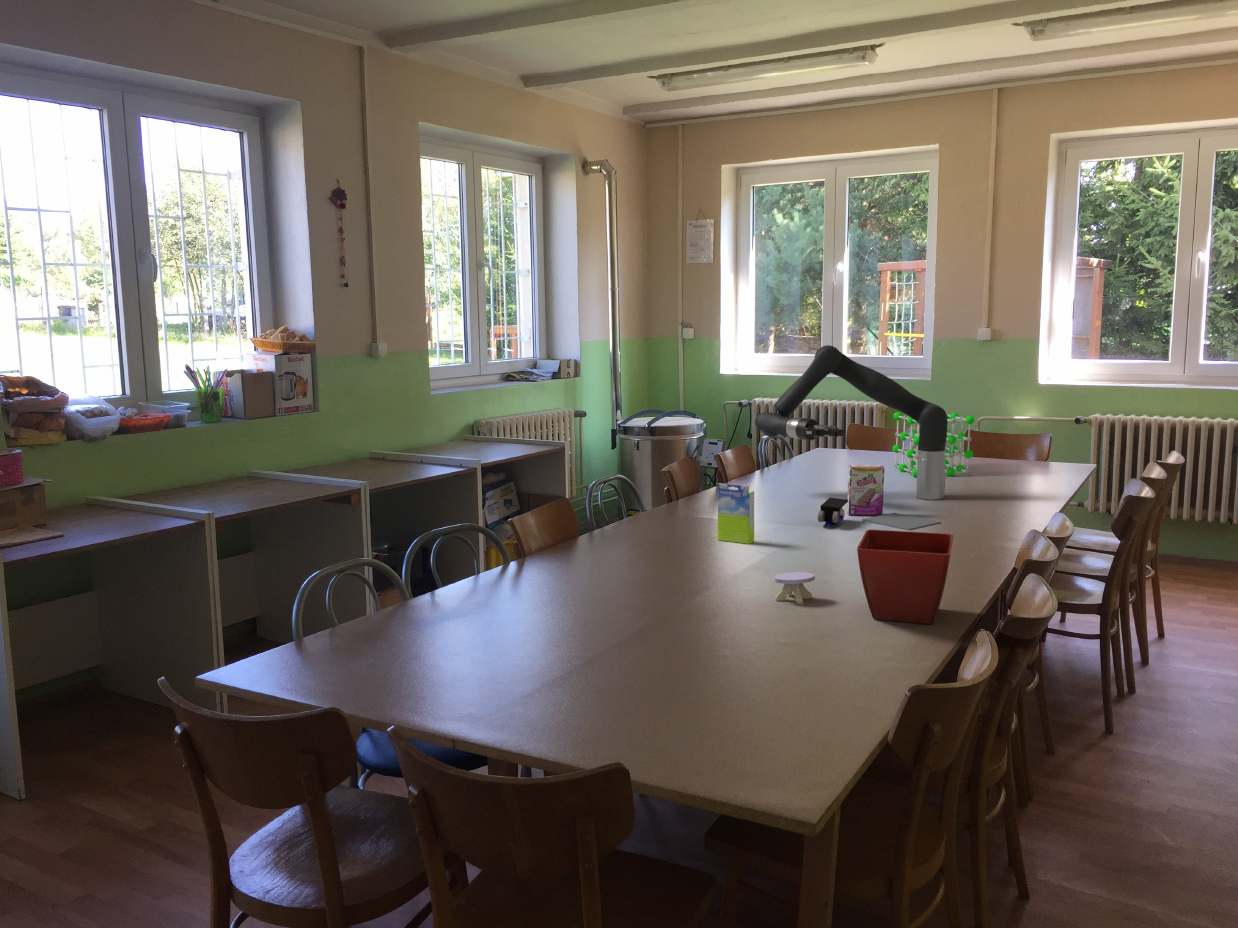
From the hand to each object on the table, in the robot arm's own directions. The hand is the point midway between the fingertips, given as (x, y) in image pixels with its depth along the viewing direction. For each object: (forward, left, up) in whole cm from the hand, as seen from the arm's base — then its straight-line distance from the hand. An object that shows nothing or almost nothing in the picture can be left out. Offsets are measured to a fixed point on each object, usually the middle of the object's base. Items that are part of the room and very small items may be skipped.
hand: (840, 433), depth 326 cm
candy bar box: (0, +11, -26) cm, 28 cm away
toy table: (+87, +62, -26) cm, 110 cm away
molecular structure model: (-86, -26, -26) cm, 94 cm away
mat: (0, +26, -26) cm, 36 cm away
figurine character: (+19, +14, -26) cm, 35 cm away
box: (+58, +11, -26) cm, 65 cm away
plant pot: (+77, +85, -26) cm, 118 cm away
